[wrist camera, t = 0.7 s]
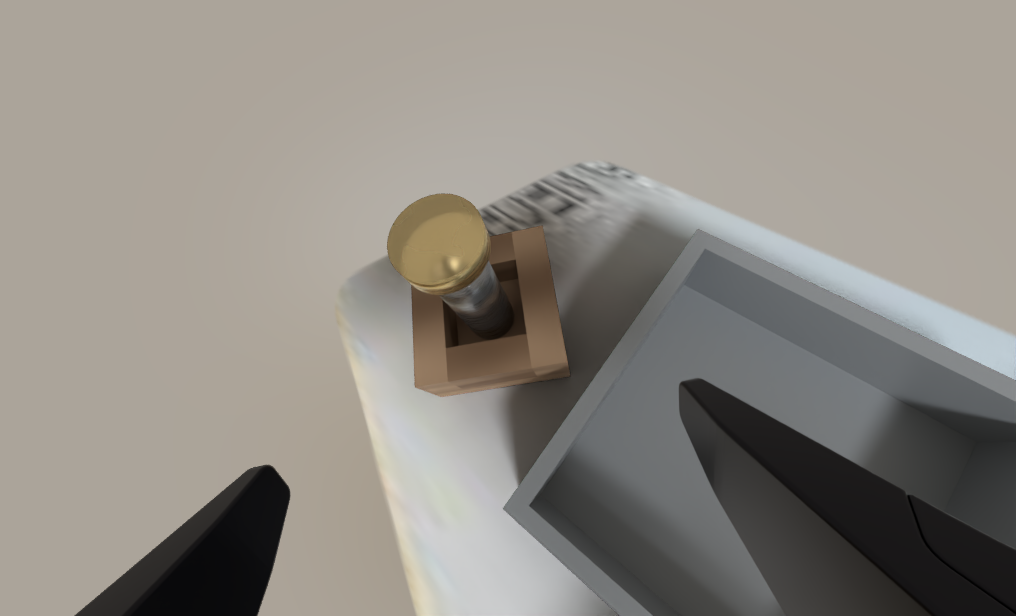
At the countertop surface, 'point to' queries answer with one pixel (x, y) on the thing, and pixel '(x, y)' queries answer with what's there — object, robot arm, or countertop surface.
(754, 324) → the tray
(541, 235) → the socket block
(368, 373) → the countertop surface
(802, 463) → the robot arm
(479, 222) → the pin
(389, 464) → the countertop surface
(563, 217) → the countertop surface
